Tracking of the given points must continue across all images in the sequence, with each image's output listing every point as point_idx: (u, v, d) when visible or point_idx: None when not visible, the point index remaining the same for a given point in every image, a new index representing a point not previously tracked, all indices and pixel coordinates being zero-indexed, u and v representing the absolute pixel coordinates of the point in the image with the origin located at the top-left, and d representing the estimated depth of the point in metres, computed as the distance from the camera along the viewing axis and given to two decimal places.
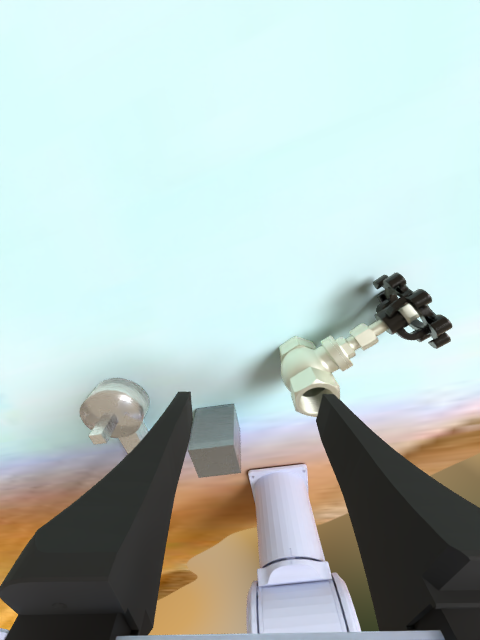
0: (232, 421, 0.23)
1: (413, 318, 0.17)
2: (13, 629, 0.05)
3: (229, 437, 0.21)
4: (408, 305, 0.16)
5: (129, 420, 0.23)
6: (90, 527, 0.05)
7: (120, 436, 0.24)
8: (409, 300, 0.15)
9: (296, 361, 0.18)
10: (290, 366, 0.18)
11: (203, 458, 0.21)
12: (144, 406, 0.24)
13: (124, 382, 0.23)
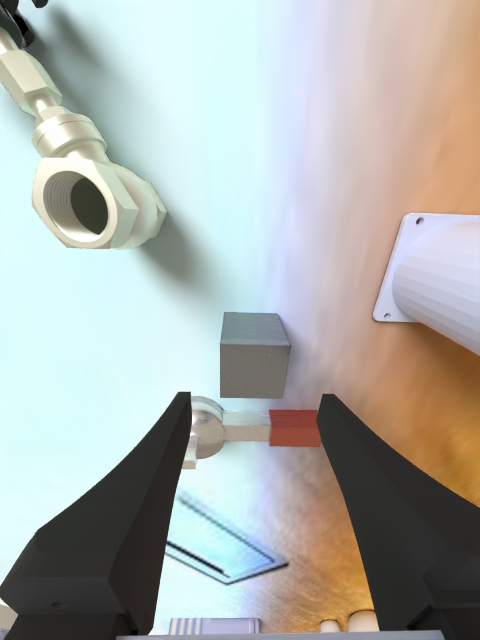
0: None
1: None
2: (13, 629, 0.05)
3: None
4: None
5: (199, 426, 0.20)
6: (90, 528, 0.05)
7: (222, 440, 0.21)
8: None
9: None
10: None
11: (241, 384, 0.15)
12: (196, 406, 0.21)
13: None
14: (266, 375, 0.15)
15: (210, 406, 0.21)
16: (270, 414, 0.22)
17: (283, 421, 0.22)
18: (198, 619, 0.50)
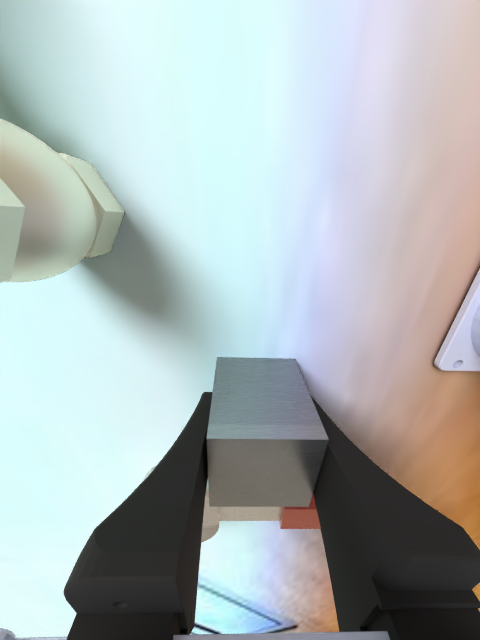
0: None
1: None
2: (74, 628, 0.05)
3: None
4: None
5: None
6: (146, 527, 0.05)
7: (216, 525, 0.15)
8: None
9: None
10: None
11: (243, 491, 0.09)
12: None
13: None
14: (284, 479, 0.09)
15: None
16: None
17: None
18: None
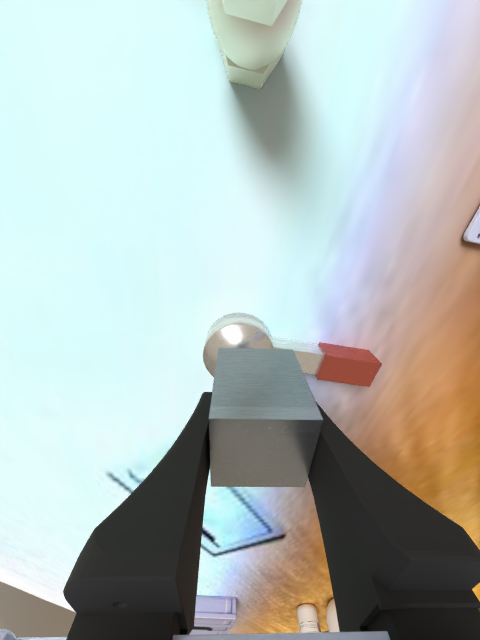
0: (215, 376, 0.11)
1: None
2: (74, 628, 0.05)
3: None
4: None
5: (251, 341, 0.18)
6: (146, 528, 0.05)
7: None
8: None
9: None
10: (215, 18, 0.09)
11: (243, 471, 0.10)
12: (248, 320, 0.18)
13: (213, 325, 0.20)
14: (282, 459, 0.09)
15: (261, 325, 0.19)
16: (322, 346, 0.20)
17: (337, 352, 0.20)
18: None
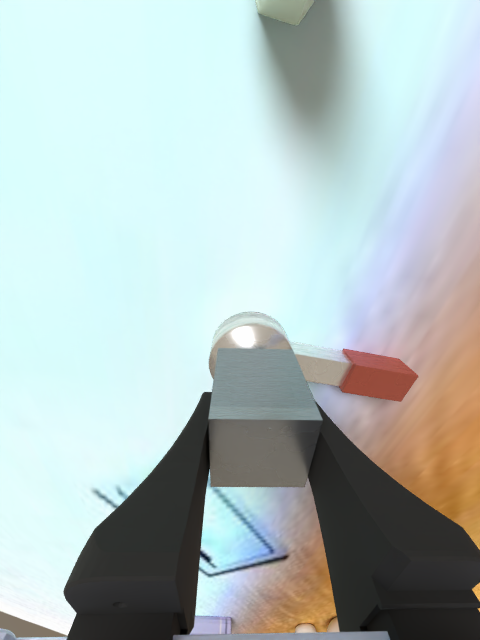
0: None
1: None
2: (74, 628, 0.05)
3: None
4: None
5: (268, 346, 0.15)
6: (146, 527, 0.05)
7: None
8: None
9: None
10: None
11: (243, 471, 0.10)
12: (264, 320, 0.15)
13: (221, 326, 0.16)
14: (281, 459, 0.09)
15: (279, 326, 0.16)
16: (347, 353, 0.17)
17: (366, 361, 0.17)
18: None
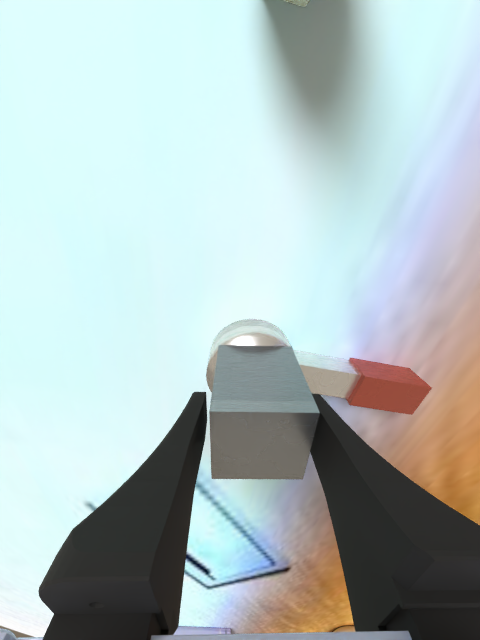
0: (215, 372, 0.11)
1: None
2: (50, 628, 0.05)
3: None
4: None
5: None
6: (124, 528, 0.05)
7: None
8: None
9: None
10: None
11: (242, 463, 0.10)
12: (266, 329, 0.14)
13: (219, 334, 0.15)
14: (280, 451, 0.10)
15: (282, 335, 0.15)
16: (354, 362, 0.16)
17: (376, 372, 0.16)
18: None
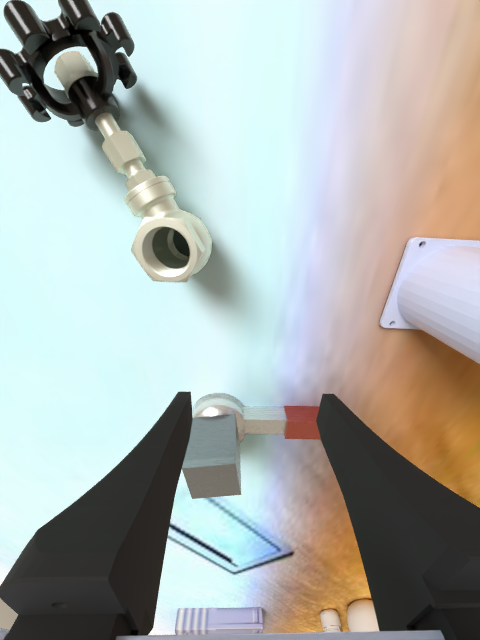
0: None
1: (76, 64, 0.11)
2: (13, 629, 0.05)
3: None
4: (58, 77, 0.11)
5: None
6: (90, 528, 0.05)
7: (243, 433, 0.24)
8: (16, 91, 0.10)
9: None
10: None
11: (206, 489, 0.19)
12: (221, 402, 0.23)
13: (195, 405, 0.25)
14: (223, 482, 0.19)
15: (232, 402, 0.24)
16: (285, 410, 0.25)
17: (298, 416, 0.24)
18: (204, 609, 0.52)
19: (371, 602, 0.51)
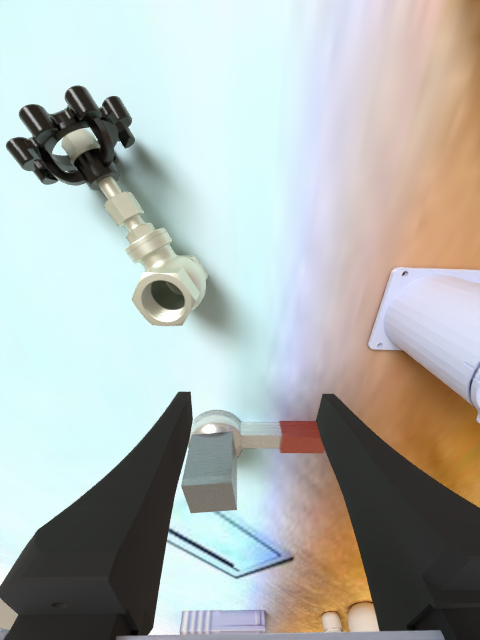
0: None
1: (80, 140, 0.12)
2: (13, 629, 0.05)
3: None
4: (65, 150, 0.12)
5: None
6: (90, 528, 0.05)
7: (240, 448, 0.25)
8: (28, 168, 0.11)
9: None
10: None
11: (203, 505, 0.20)
12: (218, 419, 0.25)
13: (194, 422, 0.26)
14: (220, 498, 0.20)
15: (230, 419, 0.25)
16: (281, 425, 0.26)
17: (292, 431, 0.25)
18: (208, 611, 0.53)
19: (371, 605, 0.51)
